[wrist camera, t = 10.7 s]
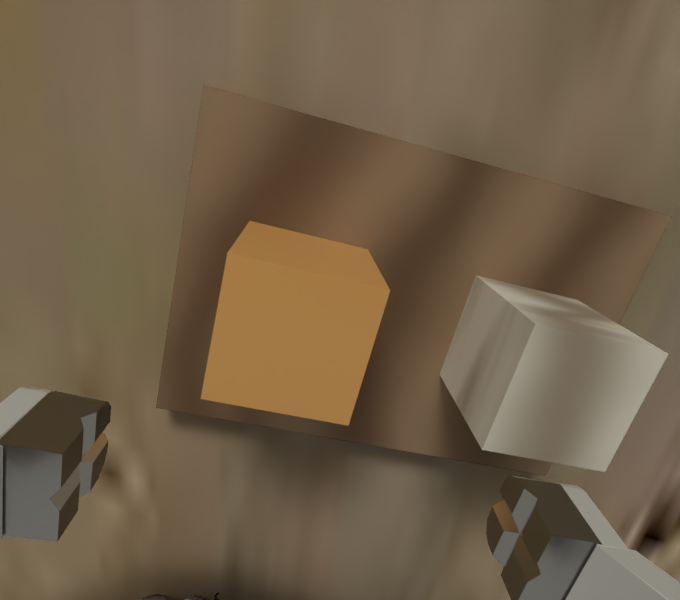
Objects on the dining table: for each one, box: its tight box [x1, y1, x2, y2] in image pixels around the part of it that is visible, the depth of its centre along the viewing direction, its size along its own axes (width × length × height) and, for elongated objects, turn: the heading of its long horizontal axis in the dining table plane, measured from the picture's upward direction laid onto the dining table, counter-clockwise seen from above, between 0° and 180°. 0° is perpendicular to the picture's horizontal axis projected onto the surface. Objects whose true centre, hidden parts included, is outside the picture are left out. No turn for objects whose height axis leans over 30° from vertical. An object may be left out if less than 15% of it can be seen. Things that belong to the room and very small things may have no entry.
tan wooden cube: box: [201, 221, 390, 426], centre depth 17 cm, size 5×5×6 cm
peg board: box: [156, 85, 672, 476], centre depth 18 cm, size 20×14×7 cm
